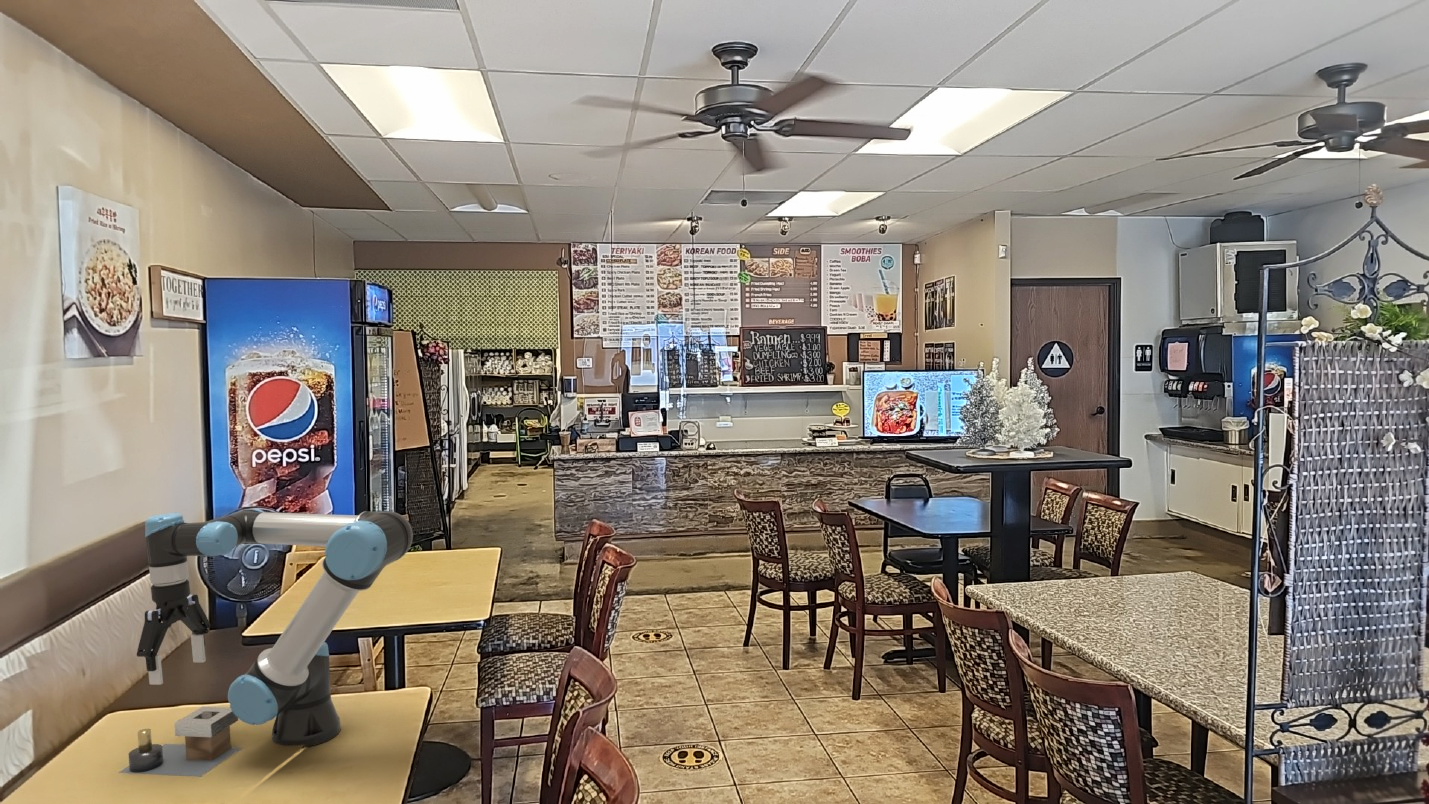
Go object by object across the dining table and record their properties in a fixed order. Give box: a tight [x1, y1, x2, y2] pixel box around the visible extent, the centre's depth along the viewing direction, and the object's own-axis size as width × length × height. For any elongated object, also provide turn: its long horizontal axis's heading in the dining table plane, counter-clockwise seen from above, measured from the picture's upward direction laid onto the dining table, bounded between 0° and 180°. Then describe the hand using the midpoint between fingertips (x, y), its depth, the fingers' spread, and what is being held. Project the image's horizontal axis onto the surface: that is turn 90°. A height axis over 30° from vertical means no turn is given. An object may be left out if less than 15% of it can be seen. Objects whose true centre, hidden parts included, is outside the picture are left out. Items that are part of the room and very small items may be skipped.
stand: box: [184, 711, 232, 760], centre depth 204 cm, size 6×6×10 cm
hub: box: [128, 728, 163, 774], centre depth 199 cm, size 6×6×8 cm
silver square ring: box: [174, 706, 239, 737], centre depth 204 cm, size 9×9×3 cm
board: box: [118, 743, 243, 778], centre depth 202 cm, size 20×14×1 cm
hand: (178, 672), depth 204 cm, fingers open, 13 cm apart
